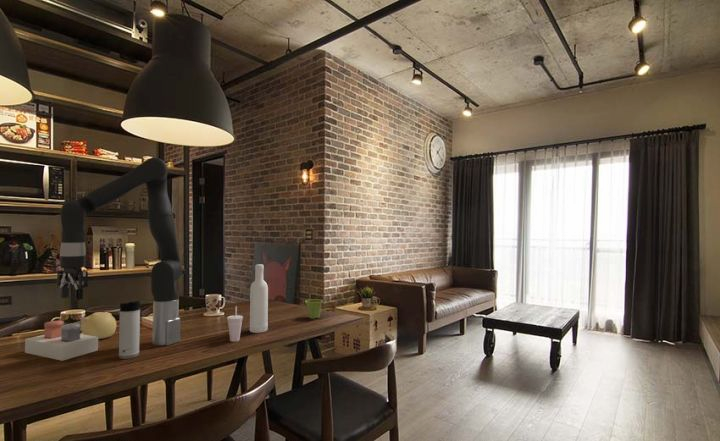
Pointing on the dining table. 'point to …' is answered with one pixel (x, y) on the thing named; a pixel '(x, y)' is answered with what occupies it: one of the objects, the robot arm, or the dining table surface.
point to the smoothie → (234, 326)
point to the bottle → (259, 302)
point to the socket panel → (61, 347)
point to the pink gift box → (53, 329)
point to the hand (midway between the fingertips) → (71, 298)
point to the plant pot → (314, 308)
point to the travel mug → (129, 330)
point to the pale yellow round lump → (99, 325)
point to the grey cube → (70, 332)
